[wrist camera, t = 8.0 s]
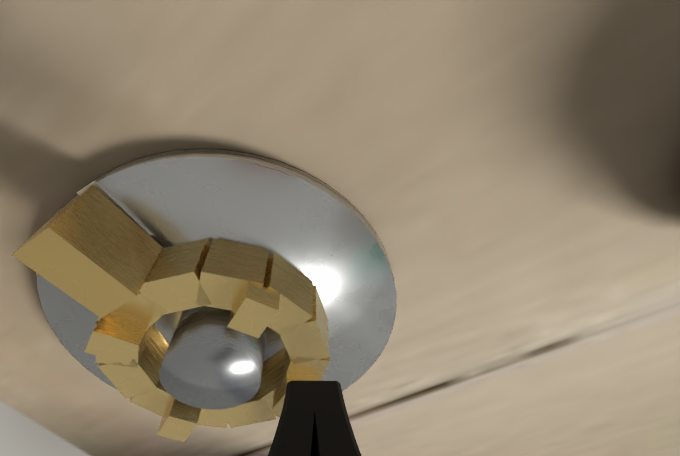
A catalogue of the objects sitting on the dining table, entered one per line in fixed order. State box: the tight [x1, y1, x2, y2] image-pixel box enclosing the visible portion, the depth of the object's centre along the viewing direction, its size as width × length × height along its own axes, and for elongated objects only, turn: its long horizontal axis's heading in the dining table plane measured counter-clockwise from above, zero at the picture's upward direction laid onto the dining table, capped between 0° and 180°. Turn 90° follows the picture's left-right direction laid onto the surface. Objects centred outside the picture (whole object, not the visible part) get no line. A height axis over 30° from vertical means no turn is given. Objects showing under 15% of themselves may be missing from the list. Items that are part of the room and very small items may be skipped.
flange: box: [36, 149, 396, 410], centre depth 20 cm, size 18×18×5 cm
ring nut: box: [12, 185, 330, 442], centre depth 19 cm, size 10×14×3 cm
